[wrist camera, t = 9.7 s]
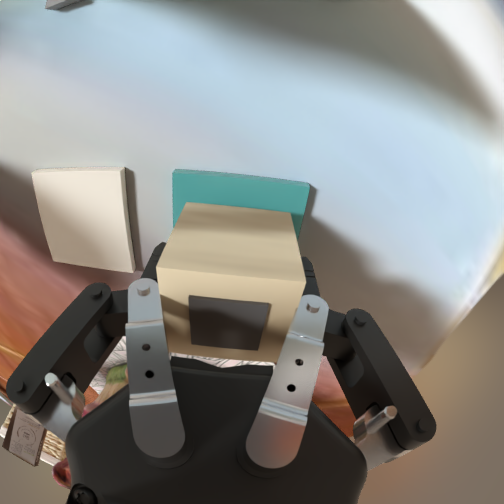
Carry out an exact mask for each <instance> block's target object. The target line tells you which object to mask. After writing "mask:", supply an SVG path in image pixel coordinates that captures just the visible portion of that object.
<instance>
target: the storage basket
mask: <svg viewBox="0 0 504 504" xmlns="http://www.w3.org/2000/svg"><path fill="white" fill-rule="evenodd" d="M15 406H16V404H14V405H13V407H12V409H11V410H10V412H9V415H8V416H7V418H6V420H5V423H4V424H3V425H2V426H1V429H0V435H1V436H2V437H4V438H5V435H6V432H7V429H8V426H9V423H10V420H11V417H12V414H13V411H14V408H15ZM66 457H67V456H66V452H65V442H63V441H62V440H61V439H59V438H58V437H57V436H56V435H54V434H53V433H52V432H51V431H47V434H46V437H45V441H44V445H43V448H42V452H41V456H40V459H41V460H43V461H44V462H47V463H49V464H51V465H53V466H54V465H55V464H56V463H58V462H61V461H63V460H64V459H65V458H66Z"/></svg>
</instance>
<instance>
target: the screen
mask: <svg viewBox="0 0 504 504" xmlns="http://www.w3.org/2000/svg"><path fill="white" fill-rule="evenodd" d="M79 1H81V0H47V1H46V6H45V9H50V10H57V9H59V8H62V7H65V6H67V5H70V4H73V3H76V2H79Z"/></svg>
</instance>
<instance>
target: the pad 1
mask: <svg viewBox="0 0 504 504" xmlns="http://www.w3.org/2000/svg"><path fill="white" fill-rule="evenodd" d="M32 179H33V185H34V190H35V195H36V200H37V204H38V209H39V213H40V217H41V221H42V225H43V228H44V232H45V236H46V239H47V243H48V246H49V249H50V252H51V255H52V258H53V261H55V262H61V263H67V264H73V265H80V266H86V267H93V268H99V269H106V270H113V271H120V272H128V273H133V272H134V270H135V268H136V265H135V259H134V253H133V246H132V239H131V232H130V223H129V215H128V205H127V194H126V182H125V167H80V168H53V169H37V170H35V171H34V172H32Z"/></svg>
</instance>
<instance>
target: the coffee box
mask: <svg viewBox="0 0 504 504" xmlns="http://www.w3.org/2000/svg"><path fill="white" fill-rule="evenodd" d="M47 431H48V430H46V429H45V428H44V427H42V426H41V425H40V424H38V423H36V422H35V421H33V420H32V419H31V418H30V417H28V416H27V415H26V414H25V413H24V412H22V411H21V409H20V408H19V407H18V406H17V405H16V406H15V408H14V411H13V414H12V417H11V420H10V423H9V426H8V429H7V432H6V435H5V438H4V442H3V445H2V447H3V448H5V449H6V450H8V451H9V452H11V453H12V454H14V455H16V456H17V457H19V458H21V459H22V460H24V461H26V462H27V463H29V464H31V465H32V466H38V464H39V460H40V456H41V452H42V448H43V445H44V441H45V437H46V434H47Z"/></svg>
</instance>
